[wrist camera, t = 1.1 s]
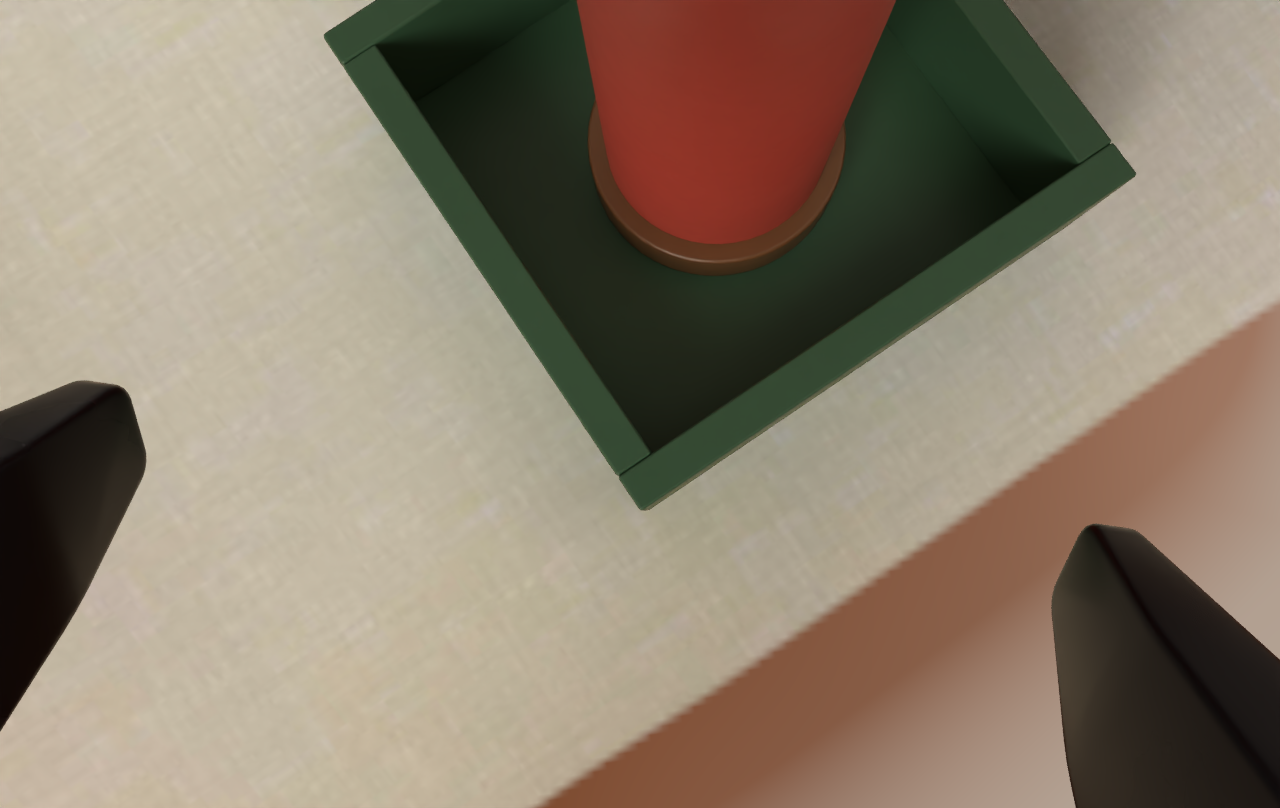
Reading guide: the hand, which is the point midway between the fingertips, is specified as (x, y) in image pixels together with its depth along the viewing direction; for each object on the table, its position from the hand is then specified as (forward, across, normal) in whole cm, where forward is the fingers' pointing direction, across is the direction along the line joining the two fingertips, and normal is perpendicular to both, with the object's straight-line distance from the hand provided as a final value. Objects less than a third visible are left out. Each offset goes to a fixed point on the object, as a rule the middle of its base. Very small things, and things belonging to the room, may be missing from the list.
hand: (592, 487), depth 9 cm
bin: (+15, -1, +3) cm, 15 cm away
